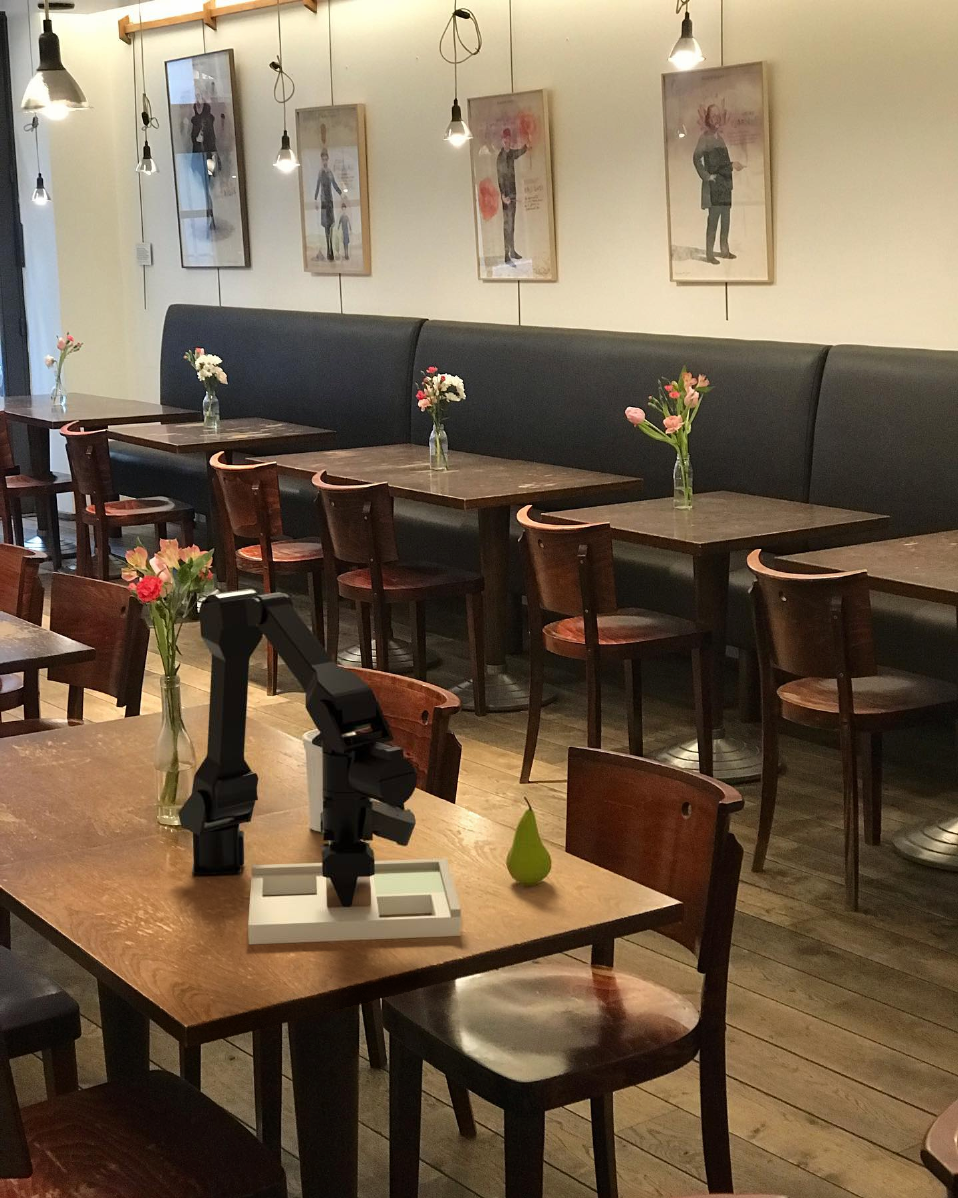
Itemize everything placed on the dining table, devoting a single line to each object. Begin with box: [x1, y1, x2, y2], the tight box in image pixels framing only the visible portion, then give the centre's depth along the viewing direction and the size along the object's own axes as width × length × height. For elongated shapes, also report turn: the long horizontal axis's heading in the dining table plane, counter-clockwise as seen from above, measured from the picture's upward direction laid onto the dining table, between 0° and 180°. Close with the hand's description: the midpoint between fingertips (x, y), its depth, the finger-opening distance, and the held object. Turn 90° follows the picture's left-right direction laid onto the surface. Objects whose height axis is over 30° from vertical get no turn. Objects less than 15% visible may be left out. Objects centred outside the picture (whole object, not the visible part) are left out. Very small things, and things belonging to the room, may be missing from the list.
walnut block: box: [326, 877, 371, 908], centre depth 203 cm, size 6×6×2 cm
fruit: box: [505, 796, 552, 887], centre depth 215 cm, size 6×6×12 cm
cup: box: [301, 728, 356, 833], centre depth 236 cm, size 8×8×14 cm
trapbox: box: [247, 857, 462, 945], centre depth 205 cm, size 26×18×4 cm
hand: (346, 906), depth 199 cm, fingers closed
